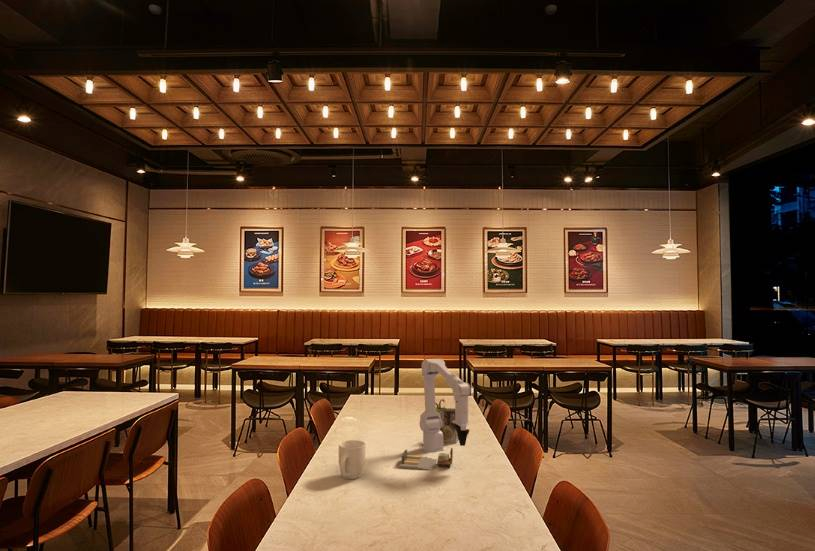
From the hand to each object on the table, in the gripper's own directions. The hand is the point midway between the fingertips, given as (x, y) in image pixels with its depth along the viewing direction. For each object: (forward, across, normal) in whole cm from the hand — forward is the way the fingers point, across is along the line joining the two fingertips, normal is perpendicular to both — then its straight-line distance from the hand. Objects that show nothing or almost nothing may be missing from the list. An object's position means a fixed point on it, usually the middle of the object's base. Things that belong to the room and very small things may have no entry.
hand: (461, 442), depth 195 cm
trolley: (+10, -1, -7) cm, 13 cm away
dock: (+10, -2, -19) cm, 22 cm away
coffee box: (+11, -38, -3) cm, 39 cm away
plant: (+11, -87, -5) cm, 88 cm away
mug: (+11, +14, -46) cm, 50 cm away
